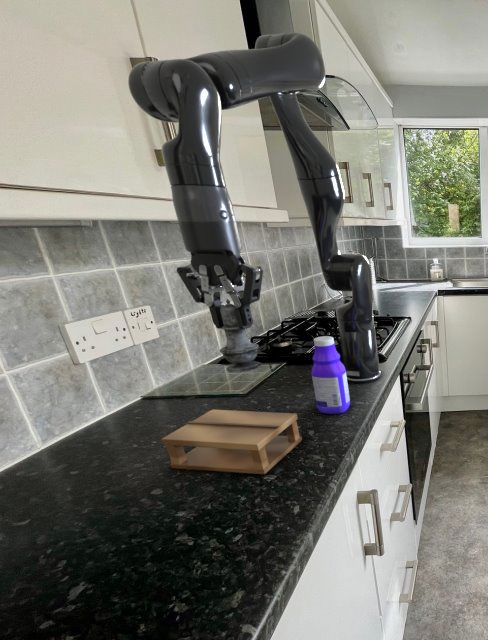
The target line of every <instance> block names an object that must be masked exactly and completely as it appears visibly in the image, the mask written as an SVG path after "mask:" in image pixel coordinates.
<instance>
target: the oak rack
mask: <svg viewBox="0 0 488 640" xmlns="http://www.w3.org/2000/svg"><path fill="white" fill-rule="evenodd" d="M298 419H299V418H298V414H297V413H294V412H293V413H290V412H289V413H288V412H273V411H272V412H271V411H251V410H250V411H249V410H234V409H233V410H229V409H211V410H209V411H207V412H205V413H204V414H202V415H200V416H198V417H197V418H196V419H194V420H188V421H187V422H186V424H184V425H183V426H181V427H180V428H178V429H176V430H174V431H173V432H171V433H169V434H167V435H166V436H164V437H162V438H161V439H160V440H161V441H162V442H161V443H162V445H163V446H165V448H166V450H167V453H168V456H169V459H170V462H171V463H170V464H169V466H170V468H171V469H181V470H195V471H196V470H197V471H210V472H211V471H213V472H225V473H240V474H241V473H242V474H255V475H266V474H267V473H268V472H270V470H271V469H273V467H275V466H276V465H277V464H278V463H279V462H280V461H281V460H282V459H283V458H284V457H285V456H287V454H289V453H290V452H291V451H292V450H293V449H294V448H296V447H297V446H298V444H299V443H301V442H302V441H303V437H302V436H300V432H299V431H300V430H299V427H298V422H297V420H298ZM284 430H285V432H286V435H281V433H282V432H284ZM184 447H195V448H193V449H191V450H189V451H187V453H186V452H185V450H184Z"/></svg>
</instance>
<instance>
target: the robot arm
mask: <svg viewBox="0 0 488 640" xmlns="http://www.w3.org/2000/svg"><path fill="white" fill-rule="evenodd" d="M254 45H255V46H254V48H249V49H248V48H246V49H227V50H219V51H212V52H205V53H201V54H198V55H196V56H191V57H187V58H172V59H162V60H161V59H160V60H150V61H141V62H138V63H137V64H135V65H134V66H133V67H132V68H131V69H130V72H129V74H128V79H127V83H128V90H129V93H130V96H131V97H132V99H133V101H134V102H135V104H136V105H137V106H138V107H139V108H140V109H141V110H142V111H143V112H144V113H146V115H148V116H150V117H151V118H153V119H155V120H156V121H157V120H158V121H160V122H164V123H168V124H169V123H170V124H178V127H177V134H176V136H174V137H173V138H171V139H169V140H167V141H165V142H163V144H162V145H161V157H162V159H163V163H164V167H165V171H166V175H167V178H168V182H169V185H170V190H171V199H172V204H173V207H174V212H175V215H176V219H177V222H178V227H179V230H180V234H181V237H182V240H183V241H182V242H183V244H184V248H185V250H186V251H187V252H188V253H190V263H189V264H187V265H185V266H179V267H177V268H176V273H177V274H178V276H179V277H180V279H181V281H182V283H183V284H184V286H185V288H186V289H187V290H188V292H189V294H190V295H191V297H192V298H193V300H194V302H195V303H197V304H200V303H201V304H204V305H205V306H206V307H208V310H209V313H210V318H211V321H212V323H213V325H214V326H215V328H216V329H217V330H219V329H221V330H223V329H222V327H223V326H224V324H223V320H222V316H221V312H220V309H221V307H223V306H225V304H223V291H225V293H226V295H227V294H228V295H229V297H230V298H231V301H232V303H233V305H235V306H236V308H235V312H236V317H237V321H238V325H239V328H240V329H245V330H247V329H250V328H251V327H252V326H253V324H254V319H253V315H252V310H251V304H253V303H255V302H259V301H260V299H261V290H262V283H263V276H264V269H263V267H262V266H260V265H258V266H253V265H250V264H248V263H246V261H245V259H244V257H243V256H242V253H241V251H242V248H243V246H242V242H241V241H242V240H241V237H240V233H239V228H238V223H237V220H236V219H237V218H236V216H235V211H234V206H233V203H232V199H231V197H230V195H229V191H228V188H227V183H226V179H225V173H224V170H223V166H222V162H221V144H222V121H223V120H222V119H223V112H222V111H226V110H232V109H235V108H238V107H242V106H245V105H248V104H250V103H253V102H256V101H259V100H262V99H265V98H268V97H269V100H270V102H271V105H272V108H273V110H274V113H275V115H276V118H277V120H278V123H279V125H280V129H281V132H282V134H283V137H284V140H285V143H286V147H287V150H288V153H289V156H290V160H291V162H292V166H293V169H294V174H295V177H296V181H297V184H298V188H299V190H300V194H301V197H302V200H303V202H304V206H305V208H306V212H307V215H308V218H309V223H310V225H311V229H312V233H313V237H314V241H315V245H316V251H317V255H318V260H319V265H320V269H321V274H322V276H323V280H324V282H325V284H326V285H327V287H328V288H329V289H330V290H332V291H336V292H351V300H350V301H348V302H347V303H344V304H341V305H339V306H337V307H336V309H335V314H336V320H337V327H338V334H339V340H340V341H339V342H340V347H341V355H342V360H343V365H344V367H345V370H346V376H347V382H349V383H354V384H363V383H369V382H370V383H371V382H374V381H376V380H378V379H379V378H380V377H381V369H380V361H379V352H378V344H377V335H376V327H375V318H374V295H373V294H374V293H373V277H372V268H371V265H370V262H369V260H368V258H367V257H366V256H365V255H364V254H360V253H359V254H358V253H357V254H356V253H341V252H340V250H339V249H340V248H339V245H338V240H337V229H338V225H339V222H340V219H341V215H342V214H343V209H344V206H345V202H346V201H345V200H346V194H345V189H344V185H343V182H342V181H343V180H342V178H341V173H340V169H339V166H338V164H337V162H336V160H335V158H334V157H333V155H332V154H331V152H330V151H329V150H328V148H326V146H325V145H324V144H323V143H322V141H321V140H320V138H318V136H317V134H315V132H313V129H311V127H310V126H309V123H308V122H307V120H306V118H305V116H304V114H303V111H302V108H301V106H300V103H299V101H298V97H297V94H310V93H314V92H317V91H319V90H320V89H321V88H322V87H323V86H324V84H325V81H326V66H325V62H324V58H323V55H322V52H321V50H320V48H319V47H318V45H317V43H316V42H315V41H314V40H313V39H312V38H311V37H309V36H308V35H306V34H304V33H301V32H291V31H290V32H282V33H271V34H263V35H260V36H258V37H257V39H256V41H255V44H254Z"/></svg>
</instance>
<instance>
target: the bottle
mask: <svg viewBox="0 0 488 640" xmlns="http://www.w3.org/2000/svg"><path fill="white" fill-rule="evenodd" d="M313 345H314V353H313V356H312V361H313V365H312V368H311V372H310V373H311V379H312V385H313V390H314V391H313V392H314V398H315V403H316V408H317V410H318V411H319V412H320V413H322V414H328V415H330V414H331V415H339V414H342V413H345V412H346V411H347V410H348V409H349V408H350V405H351V399H350V398H351V397H350V390H349V384H348V381H347V376H346V370H345V367H344V363H343V362H341V355H340V353H339V352H338V351H337V349H336V344H335V339H334V337H333V336H329V335H324V336H323V335H322V336H318V337H317V336H316V337H315V338H313Z"/></svg>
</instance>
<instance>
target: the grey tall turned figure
mask: <svg viewBox="0 0 488 640" xmlns="http://www.w3.org/2000/svg"><path fill="white" fill-rule="evenodd" d="M235 308H236V306H235V305H234V304H232V303H231V301H230V299H228V298H226V301H225V304H224V306H223V307H221V309H220V312H221V316H222V320H223V324H224V326H223V327H222V329H221V330H224V335H225V337H226V345H225V346H223V347H221V348H220V349H219V352H220V353H221V354H222V356H223V357H224V359H225V360H226V361H227V362H229V363H231V364H230V365H229V366H227V367H226V371H227V372H228V373H244V372H245V373H246V372H250V371H253V370H257V369H258V368H260V367H262V363H261V362H259V361H256V360H255V359H256V357H257V356H258V352H259V351H258V348H259V347H260V346H259V344H258V343H255V342H251V341H250V340H249V338H248V335H247V331H246V329H240V328H239V325H238V321H237V317H236V312H235Z"/></svg>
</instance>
